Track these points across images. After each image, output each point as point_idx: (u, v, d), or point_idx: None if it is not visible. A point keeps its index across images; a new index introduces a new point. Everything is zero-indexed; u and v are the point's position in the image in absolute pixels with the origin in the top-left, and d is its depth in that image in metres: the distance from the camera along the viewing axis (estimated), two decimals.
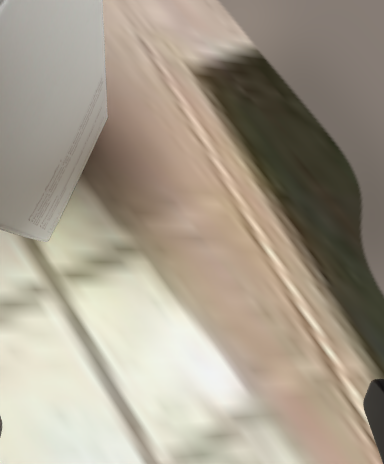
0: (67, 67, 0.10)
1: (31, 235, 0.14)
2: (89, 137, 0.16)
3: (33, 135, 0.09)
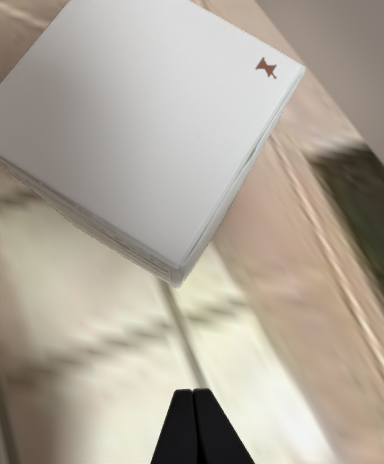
0: (245, 178, 0.14)
1: (179, 284, 0.18)
2: None
3: (218, 223, 0.14)
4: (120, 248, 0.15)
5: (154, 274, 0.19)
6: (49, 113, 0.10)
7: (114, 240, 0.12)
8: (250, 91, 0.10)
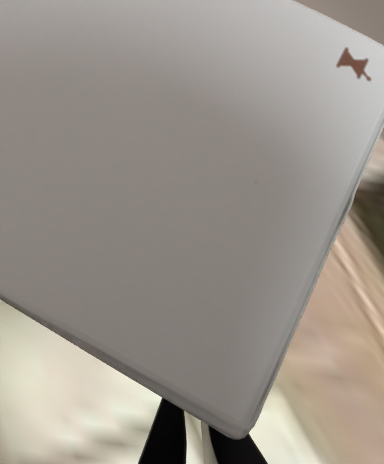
0: None
1: None
2: None
3: None
4: None
5: None
6: None
7: None
8: (334, 102, 0.06)
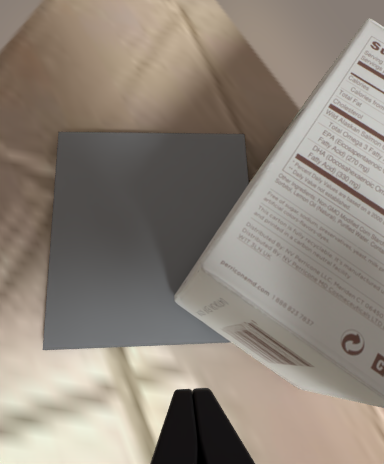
0: None
1: None
2: None
3: None
4: None
5: None
6: None
7: None
8: None
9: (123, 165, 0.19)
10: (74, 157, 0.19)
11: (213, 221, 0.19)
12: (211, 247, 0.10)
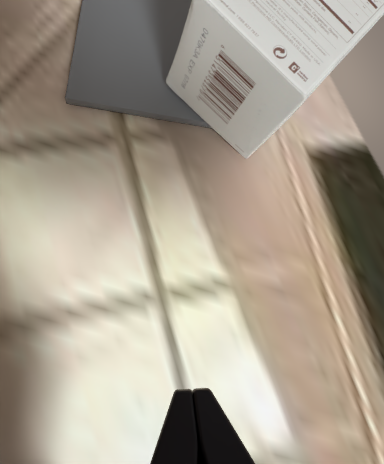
0: None
1: (343, 56, 0.18)
2: None
3: None
4: None
5: (310, 47, 0.17)
6: None
7: None
8: None
9: None
10: None
11: None
12: None
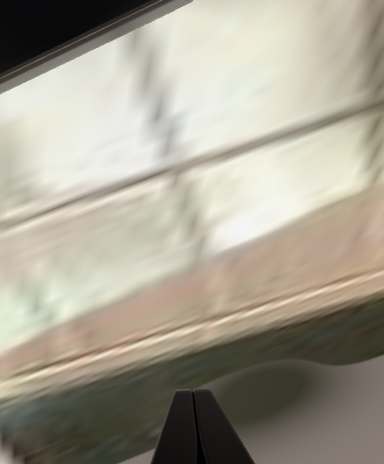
0: None
1: None
2: None
3: None
4: None
5: None
6: None
7: None
8: None
9: None
10: None
11: None
12: None
